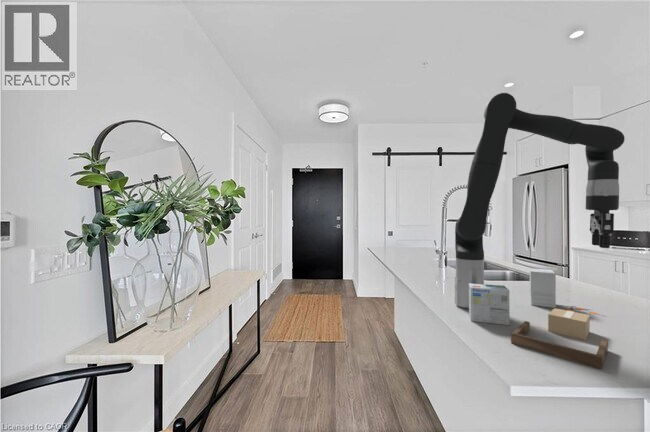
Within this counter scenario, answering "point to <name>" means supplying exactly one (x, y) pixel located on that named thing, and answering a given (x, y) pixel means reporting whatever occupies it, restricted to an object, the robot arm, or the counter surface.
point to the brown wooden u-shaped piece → (559, 348)
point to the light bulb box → (489, 303)
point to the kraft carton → (569, 323)
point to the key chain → (578, 309)
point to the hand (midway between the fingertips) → (600, 246)
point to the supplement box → (543, 288)
